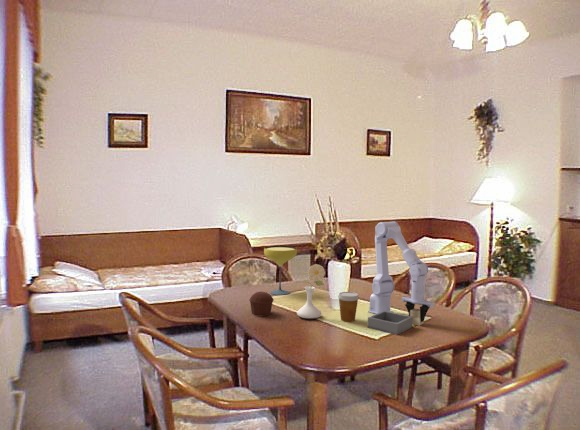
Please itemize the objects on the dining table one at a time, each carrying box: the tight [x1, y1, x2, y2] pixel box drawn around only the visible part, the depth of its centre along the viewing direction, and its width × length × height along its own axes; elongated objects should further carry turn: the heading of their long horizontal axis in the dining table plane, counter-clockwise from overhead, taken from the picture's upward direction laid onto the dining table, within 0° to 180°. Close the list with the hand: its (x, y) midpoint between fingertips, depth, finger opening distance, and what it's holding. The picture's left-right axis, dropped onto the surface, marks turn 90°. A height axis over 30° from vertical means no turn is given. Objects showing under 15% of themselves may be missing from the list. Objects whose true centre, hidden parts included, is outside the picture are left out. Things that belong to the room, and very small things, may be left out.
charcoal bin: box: [367, 311, 413, 336], centre depth 208 cm, size 14×14×4 cm
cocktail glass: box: [263, 245, 298, 296], centre depth 266 cm, size 18×18×25 cm
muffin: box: [249, 291, 274, 317], centre depth 227 cm, size 12×11×10 cm
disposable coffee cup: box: [337, 291, 360, 323], centre depth 218 cm, size 10×10×12 cm
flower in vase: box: [296, 263, 326, 319], centre depth 221 cm, size 13×11×25 cm
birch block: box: [410, 307, 425, 327], centre depth 214 cm, size 4×4×6 cm
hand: (416, 320), depth 214 cm, fingers closed on birch block, 4 cm apart
